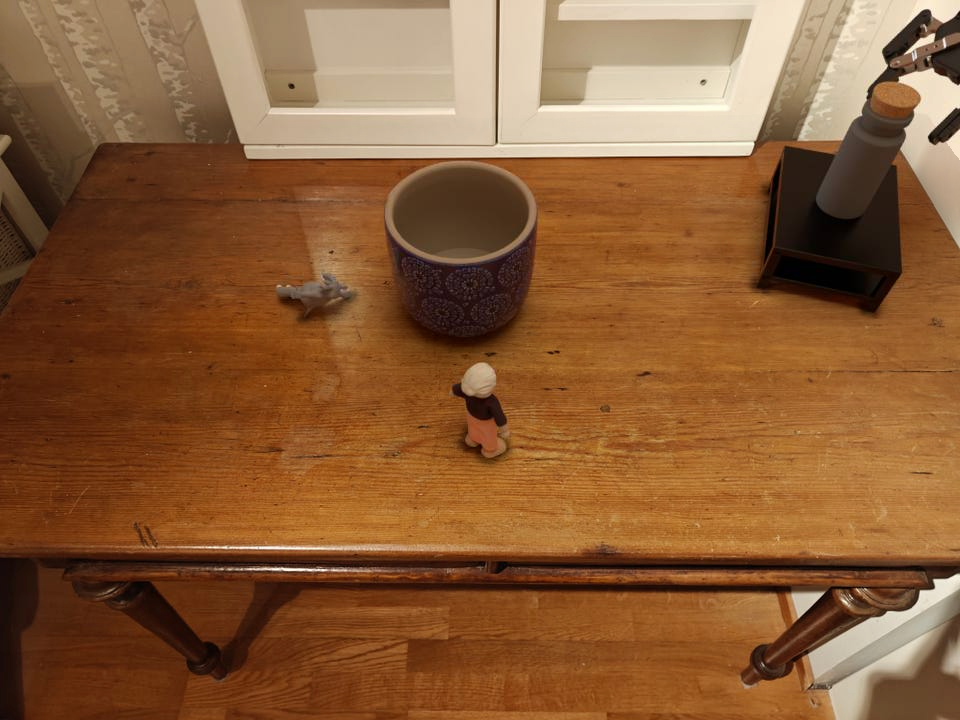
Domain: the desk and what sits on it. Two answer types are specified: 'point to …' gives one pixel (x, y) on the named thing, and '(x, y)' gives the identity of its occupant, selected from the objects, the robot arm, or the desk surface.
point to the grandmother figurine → (482, 410)
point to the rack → (829, 234)
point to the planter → (461, 245)
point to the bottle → (868, 150)
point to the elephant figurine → (315, 291)
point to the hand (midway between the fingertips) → (899, 121)
